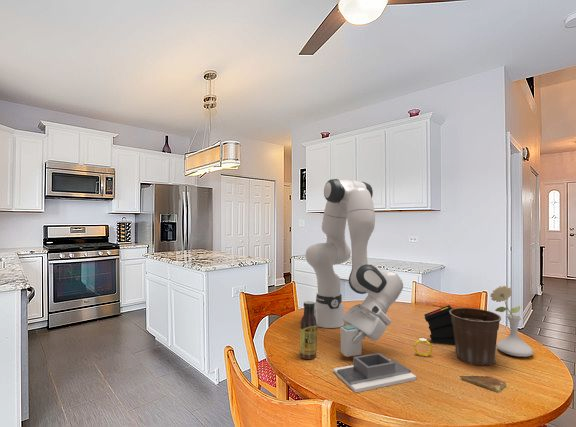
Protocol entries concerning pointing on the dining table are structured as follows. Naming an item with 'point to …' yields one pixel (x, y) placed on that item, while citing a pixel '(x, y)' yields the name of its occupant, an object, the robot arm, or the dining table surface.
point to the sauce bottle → (308, 332)
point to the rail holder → (373, 373)
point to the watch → (423, 342)
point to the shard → (486, 382)
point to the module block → (350, 341)
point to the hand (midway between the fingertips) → (349, 339)
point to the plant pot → (475, 335)
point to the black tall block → (441, 326)
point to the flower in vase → (511, 326)
